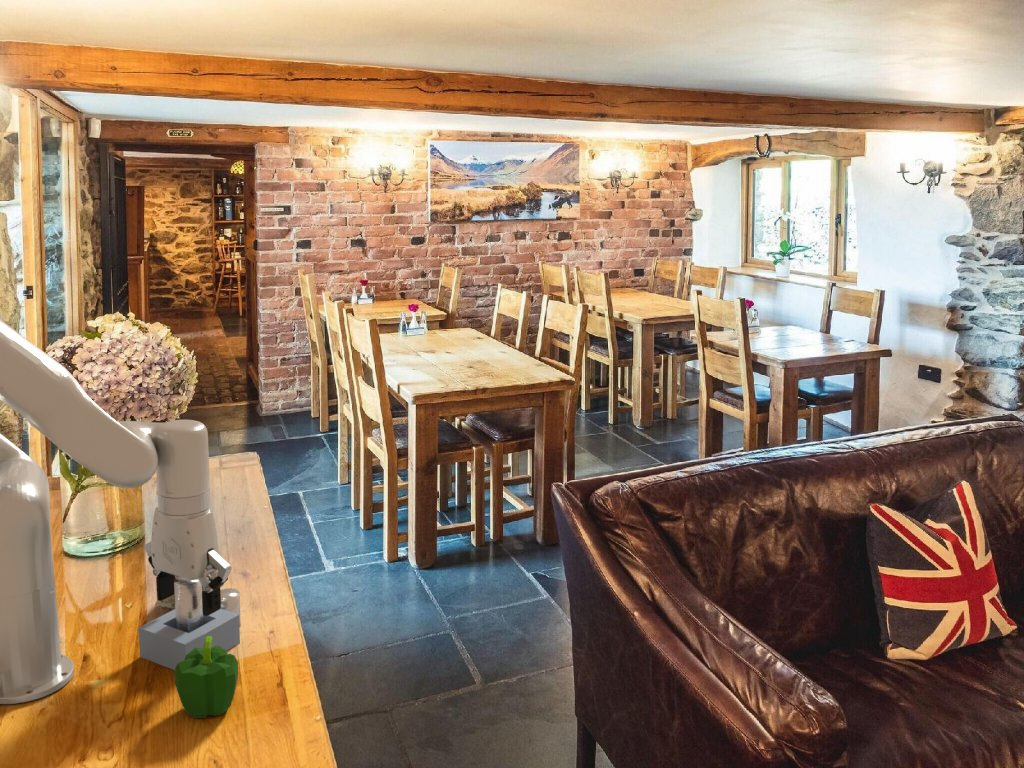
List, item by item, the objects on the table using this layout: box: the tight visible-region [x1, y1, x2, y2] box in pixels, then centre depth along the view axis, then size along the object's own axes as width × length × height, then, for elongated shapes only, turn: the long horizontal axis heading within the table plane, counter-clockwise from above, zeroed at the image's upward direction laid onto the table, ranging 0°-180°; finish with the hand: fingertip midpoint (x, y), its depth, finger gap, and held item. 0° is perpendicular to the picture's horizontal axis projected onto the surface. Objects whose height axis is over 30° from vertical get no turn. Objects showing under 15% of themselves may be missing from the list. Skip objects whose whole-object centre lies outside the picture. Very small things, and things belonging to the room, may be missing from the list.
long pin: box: [174, 577, 203, 633], centre depth 138 cm, size 4×4×12 cm
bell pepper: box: [173, 636, 239, 719], centre depth 123 cm, size 8×8×10 cm
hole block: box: [138, 609, 241, 671], centre depth 139 cm, size 11×10×5 cm
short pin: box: [220, 587, 241, 629], centre depth 146 cm, size 4×4×6 cm
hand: (188, 604), depth 137 cm, fingers open, 9 cm apart
